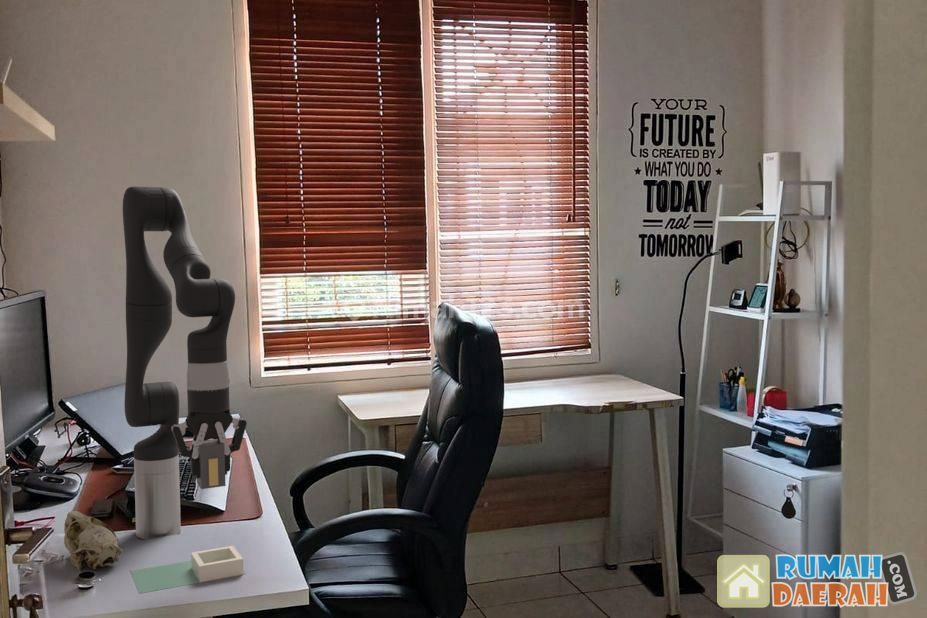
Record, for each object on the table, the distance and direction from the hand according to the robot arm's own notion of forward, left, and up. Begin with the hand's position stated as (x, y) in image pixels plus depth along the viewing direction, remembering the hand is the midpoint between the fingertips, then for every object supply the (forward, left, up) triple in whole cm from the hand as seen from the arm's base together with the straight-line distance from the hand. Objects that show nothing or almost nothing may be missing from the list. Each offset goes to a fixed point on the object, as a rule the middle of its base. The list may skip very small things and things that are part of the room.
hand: (210, 475), depth 159 cm
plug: (0, 0, -2) cm, 2 cm away
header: (0, +1, -19) cm, 19 cm away
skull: (-17, -20, -20) cm, 33 cm away
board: (-2, -4, -20) cm, 20 cm away
